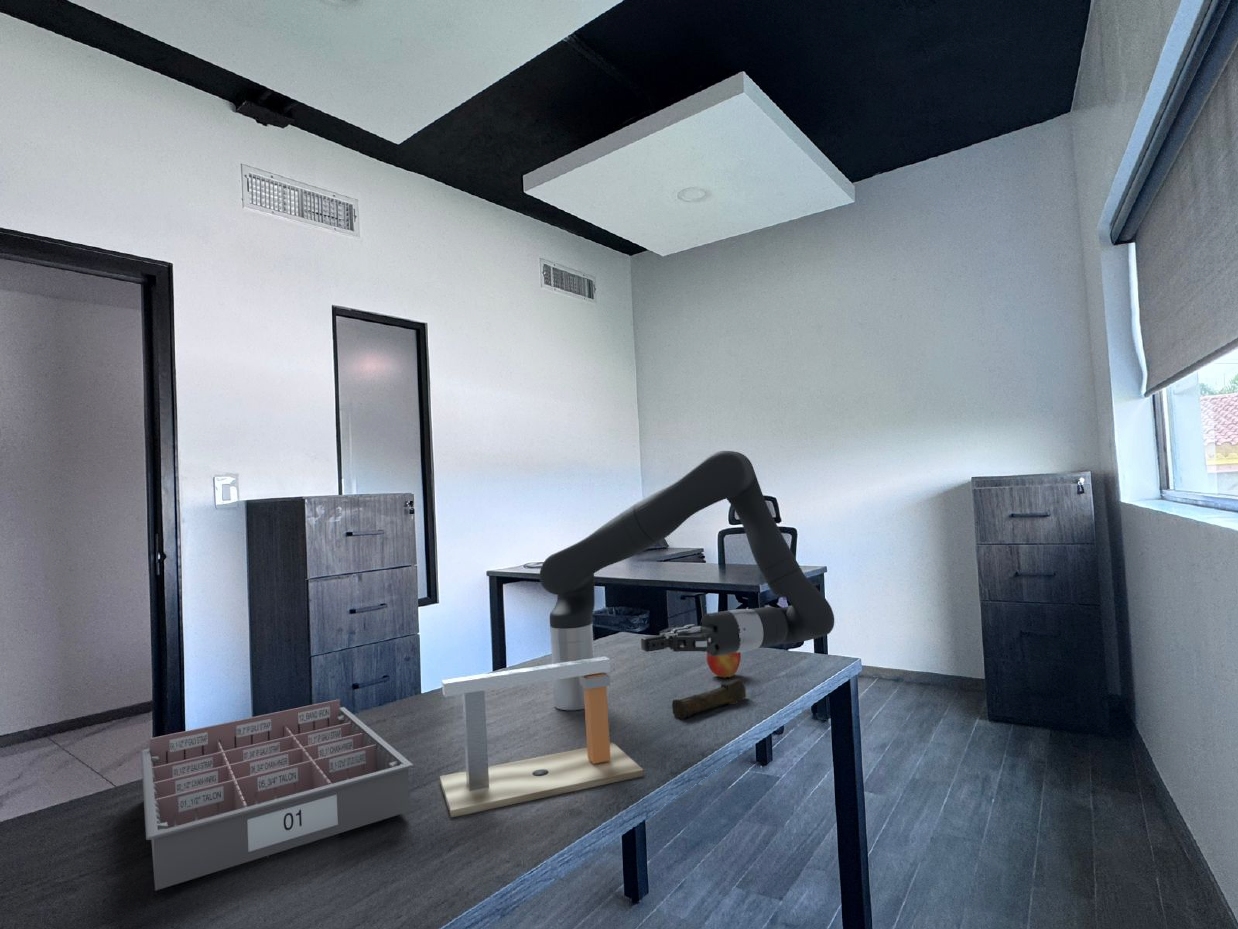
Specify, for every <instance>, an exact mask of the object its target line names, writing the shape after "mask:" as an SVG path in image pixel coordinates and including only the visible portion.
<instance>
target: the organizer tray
mask: <svg viewBox="0 0 1238 929" xmlns="http://www.w3.org/2000/svg"><path fill="white" fill-rule="evenodd" d="M340 702H341V700H340V699H335V700H329V701H325V702H320V703H316V704H310V705H306V706H300V707H297V708H290V709H285V710H282V711H277V712H271V713H267V714H261V715H257V716H252V717H247V718H242V719H238V720H233V721H228V722H223V723H217V724H214V725H209V726H204V727H199V728H193V729H189V730H185V731H180V732H175V733H169V734H165V735H160V736H155V737H151V738H149V739H148V743H149V744H148V745H149V746H148V748H145V749H142V750H141V751H140V757H141V759H140V760H141V773H142V774H141V776H142V790H143V792H142V793H143V808H144V809H143V810H144V827H145V840H147V841H150V842H151V849H152V850H151V852H152V853H151V854H152V855H151V856H152V867H153V879H154V891H159V890H161V889H165V888H168V887H172V886H175V885H178V884H181V883H184V882H188V881H190V880H194V879H198V878H200V877H204V876H207V875H210V874H213V873H216V872H219V871H223V870H227V869H229V868H232V867H236V866H239V865H241V864H246V863H249V862H252V861H255V860H258V859H262V858H264V857H269V856H271V855H273V854H277V853H280V852H281V853H282V852H284V851H287V850H289V849H293V848H297V847H300V846H303V845H306V844H309V843H313V842H315V841H319V840H322V839H326V838H328V837H331V836H335V835H338V834H340V833H344V832H348V831H351V830H354V829H357V828H360V827H364V826H367V825H370V824H373V823H377V822H380V821H383V820H386V819H389V818H393V817H395V816H396V817H397V816H400V815H402V814H406V813H408V812H411V800H410V799H411V798H410V797H411V795H410V780H409V779H410V776H409V770H410V769H412V768H414V767H415V765H414V763H412V762H411V761H410V760H408V759H407V758H406V757H405V756H404V755H402V753H400V752H399V751H398V750H396V749H395V748H394V747H393V746H392V745H390V744H389V743H388V742H387V741H386V740H384V739H383V738H382V737H380V735H379V734H377V732H375V731H374V730H373V729H371V728H370V727H369V726H368V725H366V724H365V723H364V722H363V721H362V720H360V718H358V717H357V716H355V715H354V714H353V713H352V712H351V711H349V709H347V708H346V707H345V706H342V707H341V704H340Z"/></svg>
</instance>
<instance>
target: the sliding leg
mask: <svg viewBox="0 0 1238 929" xmlns="http://www.w3.org/2000/svg"><path fill="white" fill-rule="evenodd" d="M579 680H580V684H581V685H582V686H583V687H584V702H585V709H584V716H585V718H584V719H585V731H586V732H585V733H586V735H585V736H586V748H587V755H588V759H589V760H590V761H591V762H592V763H593V764H595V763H600V762H605V761H610V760H611V757H610V743H611V742H610V729H609V728H610V727H609V709H608V706H609V705H608V691H607V687H609V686H611V677H610V674H608V673H607V672H603V673H596V674H590V675H583V676H579Z"/></svg>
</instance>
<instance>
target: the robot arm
mask: <svg viewBox="0 0 1238 929" xmlns="http://www.w3.org/2000/svg"><path fill="white" fill-rule="evenodd" d="M723 500H727V501H728V503H729V504H730V506H731V507H732V508H733V510H734V511H735V513H736V514H737V517H738V519H739V521H740V523H741V525H742V527H743V529H744V532H745V534H746V538H747V542H748V544H749V548H750V550H751V554H752V556H753V559H754V561H755V563H756V565H757V568H758V569H759V571H760V573H761V575H762V577H763V579H764V581H765V582H766V584H767V586H768V588H769V589H770V591H771V593H772V594H773V595H774V596H776V597H782V598H784V599H785V600H787V601H788V602H789V604H790V605H787V606H783V607H776V606H775V607H774V606H764V607H756V608H748V609H747V608H740V609H739V608H738V609H732V610H731V609H730V610H724V611H723V610H722V611H715V612H709V613H705V614H704V615H703V616H702V617H701V620H700V623H699V624H698V626H696V624H691V623H690V624H686V625H684V626H678V625H672V626H669V627H668V628H665V629H662V630H660V631H659V635H650V636H644V637H641V639H640V643H641V644H640V646H641V650H642V651H644V652H647V653H648V652H655V651H661V650H665V651H672V652H675V653H676V652H677V653H678V652H703V653H705V652H706V654H707V653H708V654H709V655H711V656H720V655H727V654H733V653H739V652H740V653H743V652H748V651H752V650H755V649H760V648H766V647H767V648H768V647H771V646H776V645H779V644H793V643H802V642H806V641H811V640H814V639H820V638H823V637H825V636H827V635H829V634H830V633H832V631H833V630H834V627H835V614H834V611H833V609H832V606H831V605H830V603H829V602H828V600H827V599H826V597H825V596H824V595H823V594H822V593H821V591H820V590H819V589H818V588H817V587H816V586H815V585H814V583H813V582H812V581H811V580H810V579H809V578H808V577H807V575H805V574H804V572H803V570H802V568H801V566H800V564H799V563H798V561H797V559H796V557H795V555H794V553H793V551H792V550H791V548H790V546H789V545H788V543H787V541H786V539H785V537H784V536H783V533H782V532H781V530H780V528H779V526H778V525H777V522H776V521H775V519H774V516H773V515H772V512H771V511H770V508H769V506H768V504H767V502H766V499H765V496H764V494H763V491H762V489H761V485H760V483H759V481H758V477H757V474H756V472H755V469H754V466H753V464H752V462H751V460H750V459H749V458H748V456H746V455H745V454H744V453H741V452H739V451H733V450H720V451H717V452H714V453H712V454H711V455H709V456H707V457H706V458H705V459H704V460H702V462H699V464H698V465H696V466H695V467H694V468H692V469H691V470H690V471H689V472H687V473H686V474H685V475H683V476H682V477H681V478H680V479H678V480H677V481H675V482H673V483H672V484H669V485H668V486H666V487H664V488H661V489H660V490H658V491H656V492H654V493H652V494H650V495H648V496H646V497H645V498H643V499H642V500H641V499H640V500H639V501H638V502H636V503H635V504H633V505H631V506H630V507H628V508H626V509H625V510H623V511H622V512H620V513H619V514H618V515H616V516H615V517H613V518H611V519H610V520H609V521H607V522H606V523H605V524H603V525H602V526H600V527H599V528H597V529H596V530H595V531H593V532H592V533H591V534H589V535H588V536H587V537H585V538H583V539H582V540H579V541H578V542H576V543H574V544H572V545H570V546H568V547H565V548H563V549H561V550H560V551H559V550H558V551H557V552H554V553H552V554H550V555H549V556H548V557H547V558H545V560H544V562H542V565H541V567H540V571H539V582H540V584H541V586H542V587H543V589H544V590H545V591H547V592H548V593H550V594H551V595H556V596H557V600H556V603H555V605H554V608H552V610H551V612H550V614H549V632H550V634H549V635H550V646H551V648H550V649H551V650H550V651H551V664H556V663H563V662H570V661H577V660H583V659H590V658H595V650H594V648H595V647H594V634H593V613H594V609H595V602H596V601H595V600H596V599H595V597H596V596H595V573H597V572H599V571H600V570H602V569H603V568H606V567H608V566H612V565H614V564H617V563H620V562H622V561H624V560H627V559H630V558H631V557H634V556H636V555H638V554H640V553H643V552H644V551H646V550H648V549H650V548H651V547H654V546H655V545H656V544H658V543H660V542H662V541H663V540H665V538H667V537H669V536H670V535H671V534H672V533H674V532H675V531H676V530H677V529H678V528H679V527H680V526H682V524H683V523H685V522H686V521H687V520H688V519H689V518H691V517H692V516H693V515H694V514H696V513H698V512H700V511H702V510H704V509H707V508H709V507H710V506H712V505H715V504H716V503H718V502H721V501H723ZM552 683H553V684H552V685H553V688H552V689H553V701H554V702H553V704H554V707H555V708H556V709H558V710H563V711H579V710H585V702H584V687H583V686H582V685H581V684H580V680H579V676H577V677H570V678H564V679H557V680H552Z"/></svg>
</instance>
